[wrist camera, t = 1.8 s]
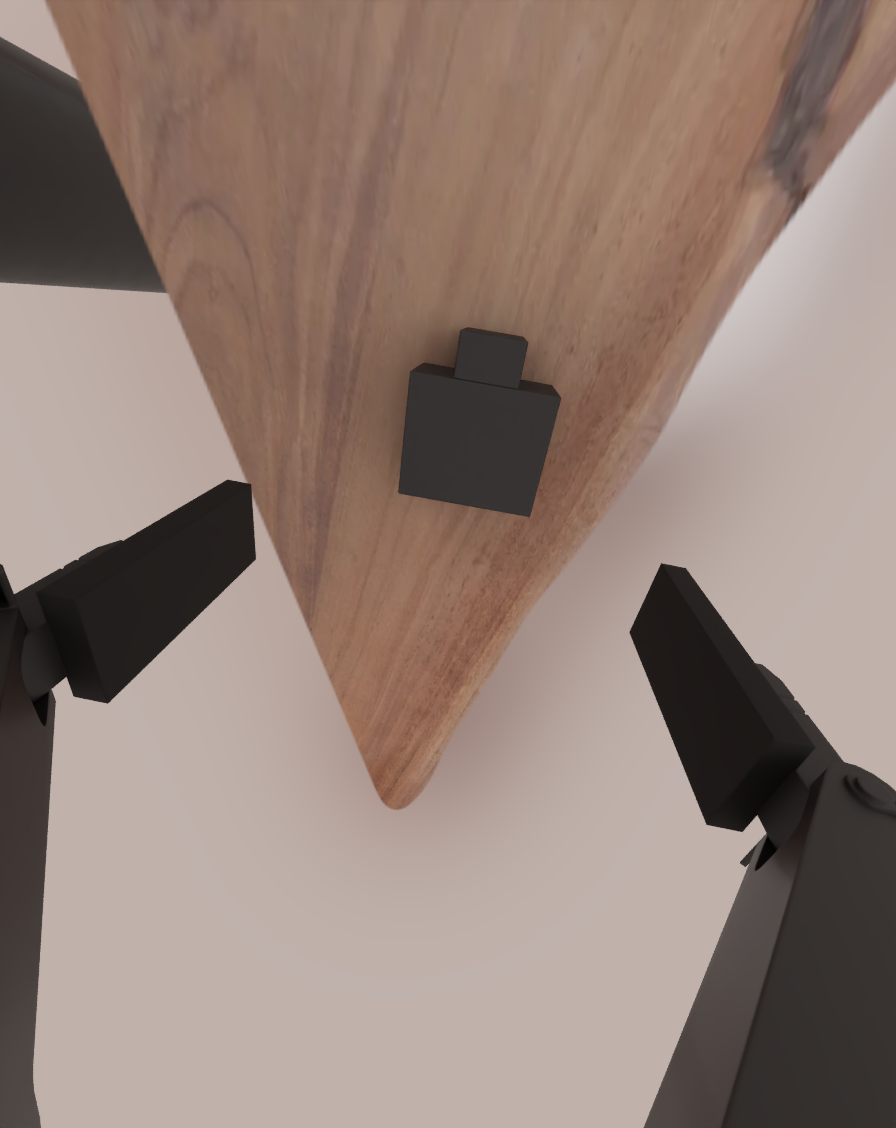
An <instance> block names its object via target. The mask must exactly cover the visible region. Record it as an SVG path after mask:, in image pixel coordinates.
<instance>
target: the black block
mask: <svg viewBox="0 0 896 1128" xmlns="http://www.w3.org/2000/svg"><path fill="white" fill-rule="evenodd" d="M527 346H528V341H527V340H526V339H525V338H524V337H520V336H515V335H509V334H503V333H497V332H492V331H486V330H480V329H474V328H469V327H468V328H465V329H462V330H461V331H460V336H459V343H458V350H457V357H456V364H455V368H451V367H445V366H439V365H434V364H428V363H423V364H421V365H420V366H418V367H416V368H415V369H413V370H412V371H410V379H409V389H408V399H407V409H406V419H405V429H404V439H403V450H402V460H401V470H400V480H399V490H398V493H400V494H405V495H411V496H416V497H422V498H427V499H433V500H438V501H444V502H450V503H455V504H461V505H466V506H472V507H477V508H483V509H488V510H494V511H499V512H505V513H511V514H516V515H522V516H527V517H530V514H531V511H532V507H533V503H534V499H535V496H536V492H537V488H538V484H539V480H540V477H541V473H542V469H543V465H544V462H545V458H546V454H547V450H548V446H549V443H550V439H551V435H552V431H553V428H554V424H555V420H556V416H557V412H558V409H559V405H560V401H561V397H560V396H559V394H558V393H557V391H556V390H555V389H554V387H553V386H552V385H547V384H542V383H536V382H530V381H525V380H520V379H521V374H522V369H523V365H524V360H525V355H526V351H527Z"/></svg>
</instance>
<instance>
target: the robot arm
mask: <svg viewBox="0 0 896 1128" xmlns="http://www.w3.org/2000/svg"><path fill="white" fill-rule="evenodd" d="M255 559H256V554H255V538H254V522H253V508H252V491H251V484H247V483H242V482H237V481H232V480H226V481H224V482H223V483H221V484H219V485H218V486H216V487H214V488H213V489H211V490H209V491H207V492H206V493H204V494H202V495H201V496H199V497H197V498H195V499H194V500H192V501H190V502H189V503H187V504H185V505H183V506H182V507H180V508H178V509H177V510H175V511H173V512H172V513H170V514H168V515H167V516H165V517H163V518H161V519H160V520H158V521H156V522H155V523H153V524H151V525H150V526H148V527H146V528H144V529H143V530H141V531H139V532H137V533H136V534H134V535H132V536H131V537H129V538H127V539H126V540H124V541H122V540H120V541H116V542H113V543H110V544H107V545H104V546H101V547H97V548H96V549H94V550H92V551H90V552H89V553H87V554H85V555H83V556H81V557H80V558H79V560H74V561H73V562H71V563H69V564H67V565H66V566H64V568H63V569H58V570H57V571H55V572H53V573H51V574H50V575H48V576H46V577H44V578H42V579H41V580H39V581H37V582H35V583H34V584H32V585H30V586H28V587H27V588H25V589H23V590H22V591H20V592H18V593H16V594H14V593H13V591H12V588H11V586H10V583H9V580H8V578H7V576H6V573H5V571H4V568H3V565H1V564H0V1128H41V1125H40V1116H39V1112H38V1108H37V1102H36V1098H35V1094H34V1084H33V1057H34V1042H35V1024H36V1010H37V994H38V993H37V992H38V977H39V962H40V945H41V929H42V913H43V897H44V896H43V895H44V881H45V864H46V849H47V848H46V847H47V832H48V816H49V800H50V784H51V766H52V752H53V735H54V718H55V703H56V701H55V698H54V695H53V692H52V690H51V689H52V688H53V687H54V686H56V685H57V684H58V683H59V682H60V681H62V680H63V679H64V678H65V677H67V679H68V682H69V685H70V687H71V690H72V693H73V696H74V697H79V698H83V699H89V700H93V701H98V702H103V703H109V702H110V701H111V700H112V699H113V698H114V697H115V696H116V695H117V694H118V693H119V692H120V691H121V690H122V689H123V688H124V687H125V686H126V685H127V684H128V683H129V682H130V681H131V680H132V679H133V678H135V677H136V676H137V674H139V673H140V672H141V671H142V670H143V669H144V668H145V667H146V666H147V665H148V664H149V663H150V662H151V661H152V660H153V659H154V658H155V657H156V656H157V655H158V654H159V653H160V652H161V651H162V650H163V649H164V648H165V647H166V646H167V645H168V644H169V643H170V642H171V641H172V640H174V639H175V638H176V637H177V635H179V634H180V633H181V632H182V631H183V629H185V628H186V627H187V626H188V625H189V624H190V623H191V622H192V621H193V620H194V619H195V618H196V617H197V616H198V615H199V614H200V613H201V612H202V611H203V610H204V609H205V608H206V607H207V606H208V605H209V604H210V603H211V602H212V601H213V600H215V598H217V597H218V596H219V595H220V594H221V593H222V592H223V591H224V590H225V589H226V588H227V587H228V586H229V585H230V584H231V583H232V582H233V581H234V580H235V579H236V578H237V577H238V576H239V575H240V574H241V573H242V572H243V571H244V570H245V569H246V568H247V567H248V566H249V565H250V564H251V563H252V562H253V561H254V560H255ZM630 635H631V637H632V640H633V642H634V645H635V647H636V650H637V652H638V655H639V657H640V660H641V662H642V665H643V667H644V670H645V672H646V675H647V677H648V679H649V682H650V685H651V687H652V690H653V692H654V695H655V697H656V700H657V702H658V705H659V707H660V710H661V712H662V715H663V717H664V720H665V722H666V725H667V727H668V729H669V732H670V735H671V737H672V740H673V742H674V745H675V747H676V750H677V752H678V755H679V757H680V760H681V762H682V764H683V767H684V770H685V772H686V775H687V777H688V780H689V782H690V785H691V787H692V789H693V792H694V795H695V797H696V800H697V802H698V805H699V807H700V810H701V812H702V815H703V817H704V819H705V822H706V824H707V825H711V826H716V827H720V828H726V829H730V830H736V831H740V832H743V831H744V830H745V828H746V827H747V826H748V825H749V824H750V822H751V821H752V820H753V819H754V818H755V817H756V816H757V815H758V817H759V819H760V821H761V823H762V825H763V827H764V828H765V831H766V832H767V833H766V835H765V836H764V837H763V838H762V839H761V840H760V841H759V842H758V843H757V845H756V846H755V847H754V848H753V849H752V850H751V851H750V852H749V853H748V854H747V855H746V856H745V857H744V858H743V860H742V861H741V862H740V863H741V864H742V865H744V866H745V867H746V866H747V865H748V864H749V863H750V864H749V866H748V869H747V871H746V874H745V876H744V879H743V881H742V884H741V886H740V889H739V891H738V894H737V896H736V899H735V901H734V904H733V906H732V909H731V911H730V914H729V916H728V918H727V921H726V924H725V926H724V928H723V931H722V933H721V936H720V938H719V941H718V944H717V946H716V948H715V951H714V953H713V956H712V958H711V961H710V964H709V966H708V968H707V971H706V973H705V976H704V978H703V981H702V983H701V986H700V988H699V991H698V994H697V996H696V998H695V1001H694V1003H693V1006H692V1008H691V1011H690V1013H689V1016H688V1018H687V1021H686V1023H685V1026H684V1028H683V1031H682V1033H681V1036H680V1039H679V1041H678V1044H677V1046H676V1048H675V1051H674V1053H673V1056H672V1059H671V1061H670V1064H669V1066H668V1068H667V1071H666V1073H665V1076H664V1078H663V1081H662V1083H661V1086H660V1088H659V1091H658V1094H657V1096H656V1098H655V1101H654V1103H653V1106H652V1108H651V1111H650V1113H649V1116H648V1119H647V1121H646V1123H645V1126H644V1128H896V791H895V790H894V789H893V788H891V787H890V786H889V785H888V784H887V783H885V782H884V781H882V780H881V779H880V778H878V777H877V776H875V775H874V774H872V773H870V772H868V771H866V770H864V769H862V768H860V767H858V766H856V765H852V764H848V763H845V762H843V760H842V759H841V758H840V757H839V755H838V754H837V752H836V751H835V750H834V749H833V747H832V746H831V745H830V743H829V742H828V741H827V739H826V738H825V737H824V736H823V734H822V733H821V732H820V730H819V729H818V728H817V726H816V725H815V724H814V722H813V721H812V720H811V719H810V717H809V716H808V715H805V711H804V710H803V708H802V707H801V705H800V704H799V703H798V702H797V701H795V700H794V696H793V695H792V694H791V692H790V691H789V690H788V689H787V687H786V686H785V685H784V683H783V682H782V681H781V680H780V679H779V678H778V677H776V676H775V675H774V674H773V673H772V672H770V671H769V670H768V669H767V668H766V667H764V666H763V665H761V664H756V663H754V661H753V660H752V659H751V657H750V656H749V654H748V653H747V652H746V651H745V649H744V648H743V646H742V645H741V644H740V642H739V641H738V640H737V638H736V637H735V635H734V634H733V633H732V631H731V630H730V629H729V627H728V626H727V624H726V623H725V622H724V620H723V619H722V617H721V616H720V615H719V613H718V612H717V611H716V609H715V608H714V607H713V605H712V604H711V602H710V601H709V600H708V598H707V597H706V595H705V594H704V593H703V591H702V590H701V589H700V587H699V586H698V585H697V583H696V582H695V580H694V579H693V578H692V576H691V575H690V573H689V572H688V571H687V569H686V568H682V567H677V566H672V565H667V564H661V565H660V567H659V570H658V572H657V574H656V576H655V578H654V580H653V582H652V585H651V587H650V589H649V591H648V594H647V595H646V598H645V600H644V602H643V604H642V606H641V608H640V611H639V613H638V615H637V617H636V619H635V621H634V624H633V626H632V628H631V630H630Z"/></svg>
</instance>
